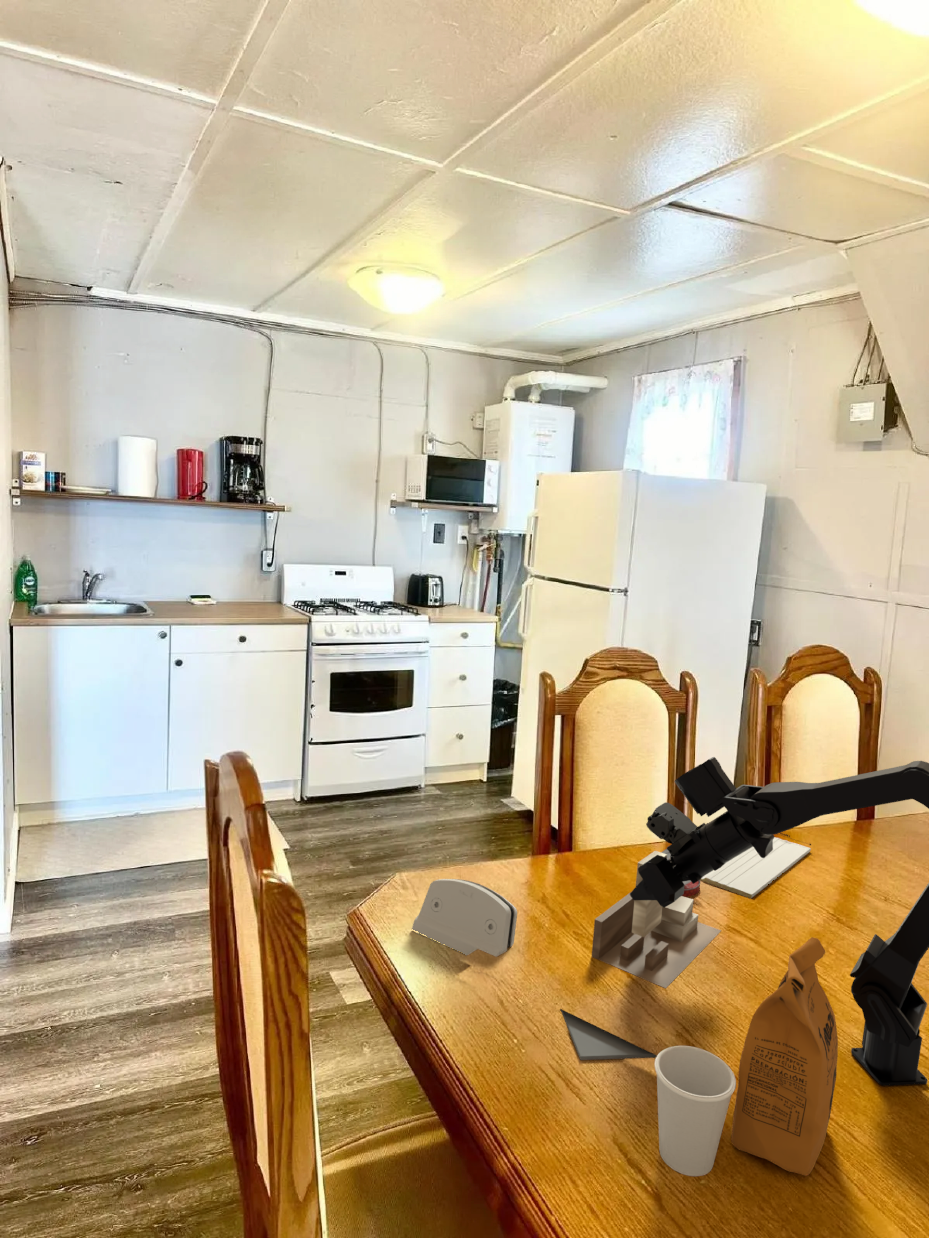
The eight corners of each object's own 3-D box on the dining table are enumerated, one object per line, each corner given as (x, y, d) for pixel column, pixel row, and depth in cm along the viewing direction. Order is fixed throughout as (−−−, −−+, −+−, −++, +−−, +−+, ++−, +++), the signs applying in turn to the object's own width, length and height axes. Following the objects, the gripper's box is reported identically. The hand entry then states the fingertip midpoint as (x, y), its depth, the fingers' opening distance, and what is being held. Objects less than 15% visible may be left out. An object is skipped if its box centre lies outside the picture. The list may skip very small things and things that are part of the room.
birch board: (660, 922, 125) (667, 854, 123) (643, 937, 120) (650, 866, 118) (648, 917, 126) (655, 850, 124) (631, 932, 121) (637, 862, 120)
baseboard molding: (690, 879, 156) (751, 902, 148) (691, 865, 156) (752, 887, 148) (754, 837, 179) (810, 855, 171) (756, 824, 179) (811, 841, 171)
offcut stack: (697, 926, 134) (700, 901, 133) (681, 942, 128) (684, 916, 128) (666, 915, 137) (668, 890, 136) (649, 929, 132) (652, 904, 131)
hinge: (409, 930, 130) (425, 867, 132) (425, 928, 134) (441, 868, 136) (496, 968, 121) (512, 900, 122) (511, 965, 125) (526, 900, 126)
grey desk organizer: (720, 938, 133) (725, 895, 132) (664, 997, 116) (669, 948, 115) (652, 913, 140) (656, 872, 139) (590, 965, 123) (594, 919, 122)
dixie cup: (694, 1118, 93) (702, 1038, 91) (743, 1175, 85) (753, 1088, 84) (631, 1135, 90) (639, 1052, 88) (676, 1195, 82) (686, 1106, 81)
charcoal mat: (671, 1056, 103) (672, 1053, 103) (580, 1059, 102) (580, 1056, 101) (639, 999, 115) (640, 996, 115) (557, 1001, 113) (557, 998, 113)
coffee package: (842, 1127, 93) (866, 947, 90) (811, 1195, 83) (837, 996, 80) (755, 1085, 99) (775, 916, 96) (717, 1144, 89) (737, 957, 86)
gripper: (708, 778, 125) (637, 826, 133) (657, 809, 110) (580, 861, 118) (754, 841, 121) (678, 887, 129) (708, 882, 107) (625, 931, 115)
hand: (641, 889), depth 123 cm, fingers closed on birch board, 6 cm apart
